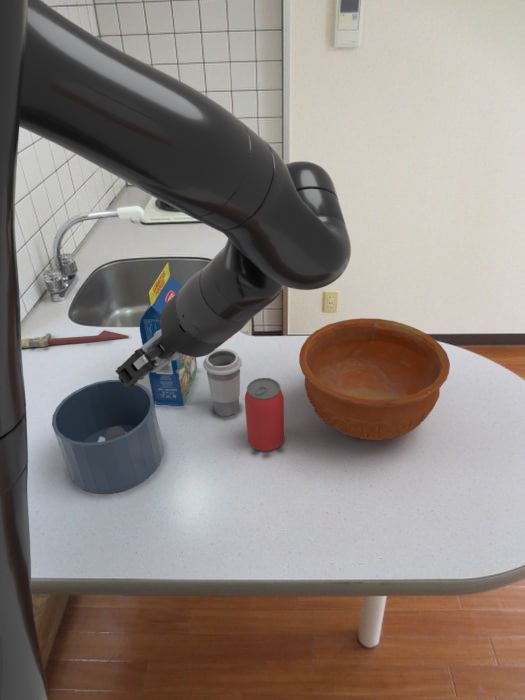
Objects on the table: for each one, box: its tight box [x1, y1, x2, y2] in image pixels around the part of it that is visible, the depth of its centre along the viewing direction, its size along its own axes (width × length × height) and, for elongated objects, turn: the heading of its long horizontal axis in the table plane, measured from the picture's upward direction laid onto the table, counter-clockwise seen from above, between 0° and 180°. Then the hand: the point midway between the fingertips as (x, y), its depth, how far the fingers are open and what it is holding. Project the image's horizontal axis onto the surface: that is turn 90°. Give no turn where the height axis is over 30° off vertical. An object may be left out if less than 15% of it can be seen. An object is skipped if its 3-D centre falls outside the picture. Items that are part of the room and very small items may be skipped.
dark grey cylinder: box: [98, 426, 127, 442], centre depth 86 cm, size 6×6×10 cm
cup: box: [202, 348, 243, 417], centre depth 98 cm, size 7×7×12 cm
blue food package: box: [139, 262, 198, 406], centre depth 101 cm, size 6×12×25 cm, turn 173°
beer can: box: [244, 377, 285, 452], centre depth 91 cm, size 7×7×12 cm
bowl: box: [298, 317, 451, 441], centre depth 93 cm, size 25×25×15 cm
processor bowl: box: [51, 379, 164, 495], centre depth 89 cm, size 16×16×11 cm
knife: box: [21, 329, 130, 349], centre depth 124 cm, size 29×2×5 cm
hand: (149, 363), depth 69 cm, fingers open, 8 cm apart
